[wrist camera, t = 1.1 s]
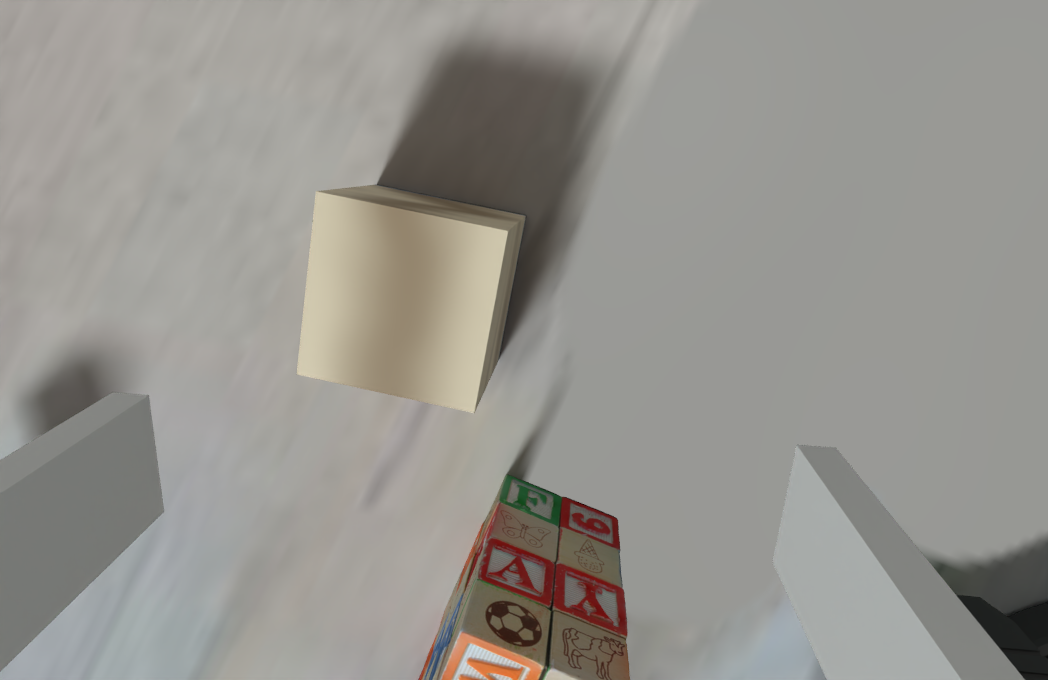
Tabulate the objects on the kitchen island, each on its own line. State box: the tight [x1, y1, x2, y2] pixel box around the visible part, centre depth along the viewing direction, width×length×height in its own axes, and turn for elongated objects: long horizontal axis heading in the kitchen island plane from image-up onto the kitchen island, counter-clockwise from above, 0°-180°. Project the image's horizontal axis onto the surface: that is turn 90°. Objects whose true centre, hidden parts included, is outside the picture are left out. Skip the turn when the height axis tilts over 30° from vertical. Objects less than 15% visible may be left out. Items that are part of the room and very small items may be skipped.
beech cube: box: [297, 185, 526, 413], centre depth 28 cm, size 7×7×7 cm
